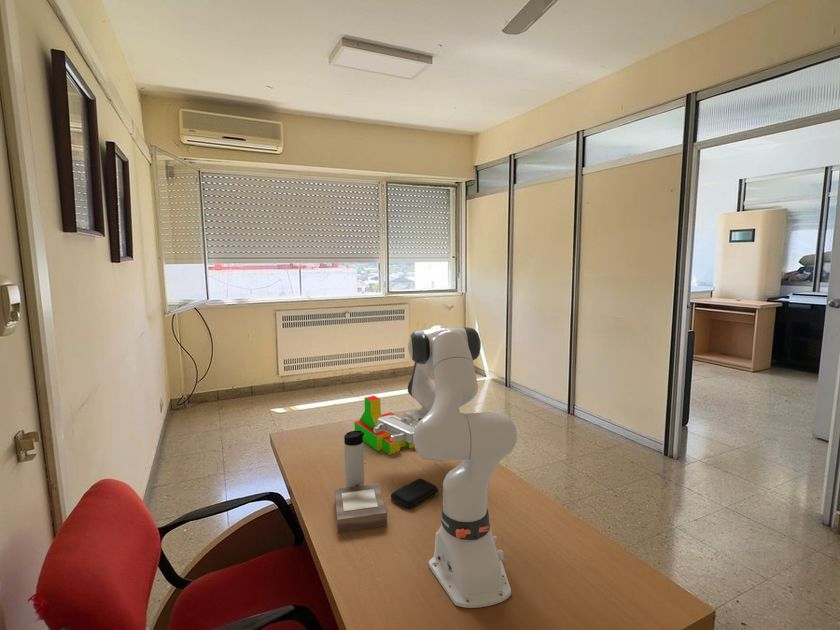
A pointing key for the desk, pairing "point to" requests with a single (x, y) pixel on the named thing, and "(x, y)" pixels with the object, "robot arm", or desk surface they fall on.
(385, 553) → the desk surface
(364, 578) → the desk surface
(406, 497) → the carrying case or bag
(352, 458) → the travel mug
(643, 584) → the desk surface
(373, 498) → the walnut riser
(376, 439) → the building blocks toy
